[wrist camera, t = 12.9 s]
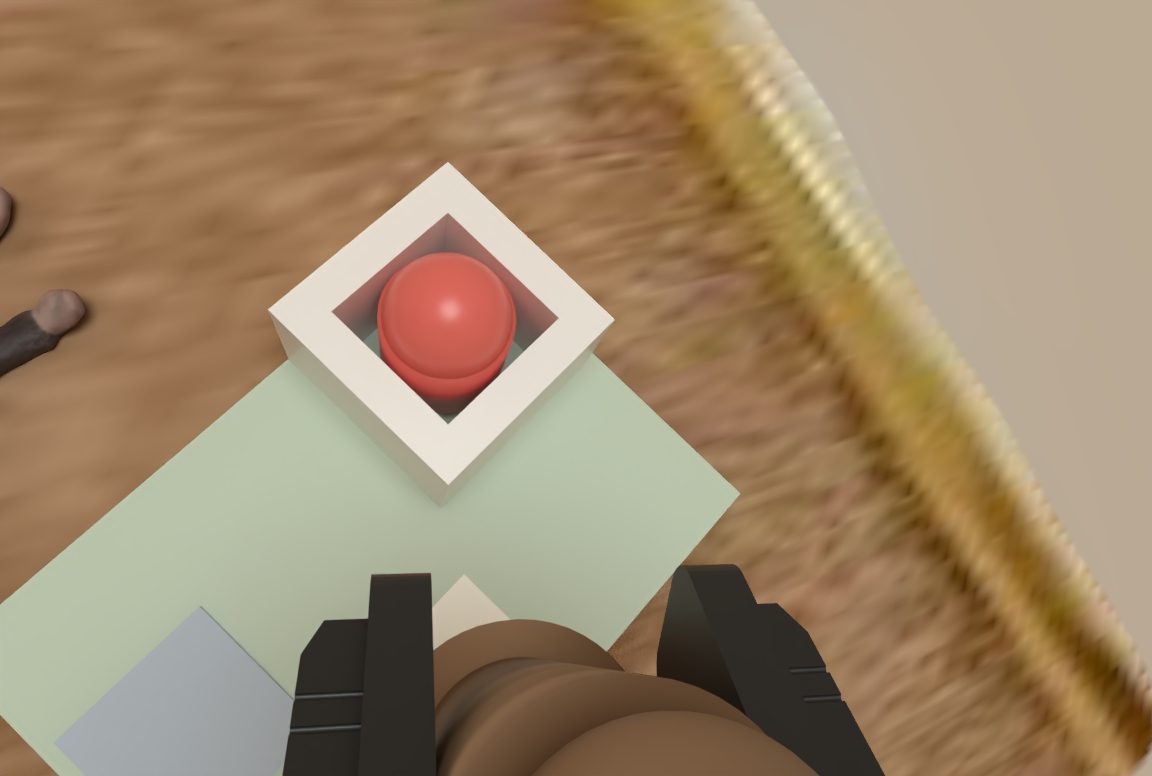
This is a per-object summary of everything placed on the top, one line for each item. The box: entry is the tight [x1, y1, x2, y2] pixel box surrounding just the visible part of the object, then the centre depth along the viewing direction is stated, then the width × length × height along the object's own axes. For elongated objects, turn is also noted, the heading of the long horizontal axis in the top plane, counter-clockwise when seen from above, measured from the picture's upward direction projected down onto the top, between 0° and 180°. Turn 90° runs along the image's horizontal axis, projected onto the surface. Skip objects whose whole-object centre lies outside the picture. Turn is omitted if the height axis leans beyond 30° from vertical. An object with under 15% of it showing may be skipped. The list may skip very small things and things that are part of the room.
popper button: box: [377, 252, 516, 414], centre depth 26 cm, size 4×4×5 cm
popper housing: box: [268, 162, 615, 508], centre depth 27 cm, size 7×7×4 cm
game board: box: [0, 329, 740, 776], centre depth 27 cm, size 14×20×1 cm
